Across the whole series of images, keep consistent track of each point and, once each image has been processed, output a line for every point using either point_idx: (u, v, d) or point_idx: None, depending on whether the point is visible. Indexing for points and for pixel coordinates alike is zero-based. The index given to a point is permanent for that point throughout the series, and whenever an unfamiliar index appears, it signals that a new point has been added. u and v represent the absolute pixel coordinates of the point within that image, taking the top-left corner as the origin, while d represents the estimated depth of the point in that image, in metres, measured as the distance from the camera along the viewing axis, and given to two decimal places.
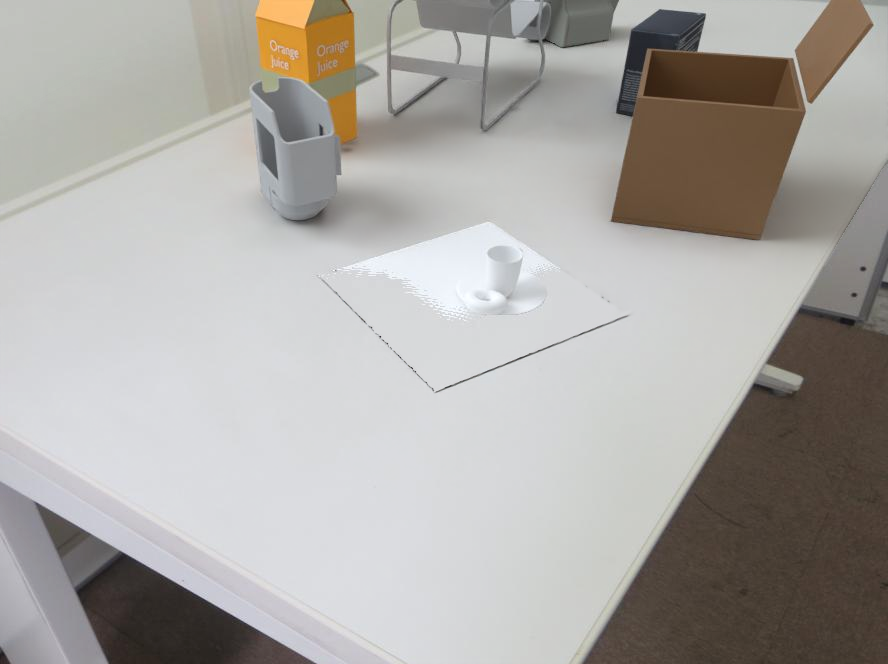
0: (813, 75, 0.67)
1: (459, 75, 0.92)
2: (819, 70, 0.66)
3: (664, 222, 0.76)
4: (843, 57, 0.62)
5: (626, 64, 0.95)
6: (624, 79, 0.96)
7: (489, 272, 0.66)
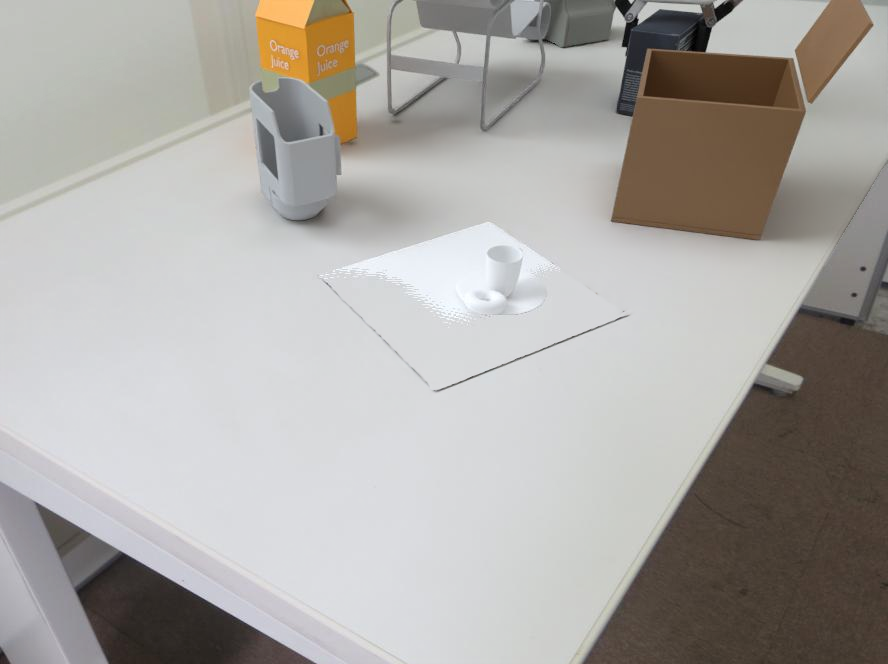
0: (813, 75, 0.67)
1: (459, 75, 0.92)
2: (819, 70, 0.66)
3: (664, 222, 0.76)
4: (843, 57, 0.62)
5: (626, 64, 0.95)
6: (624, 79, 0.96)
7: (489, 272, 0.66)
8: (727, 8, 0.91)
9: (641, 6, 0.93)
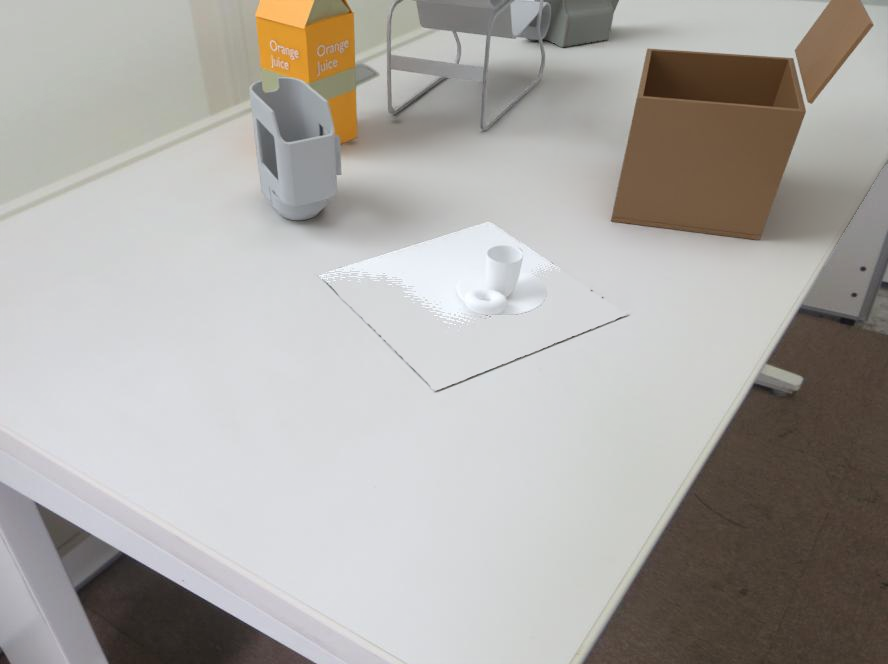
0: (813, 75, 0.67)
1: (459, 75, 0.92)
2: (819, 70, 0.66)
3: (664, 222, 0.76)
4: (843, 57, 0.62)
5: None
6: None
7: (489, 272, 0.66)
8: None
9: None
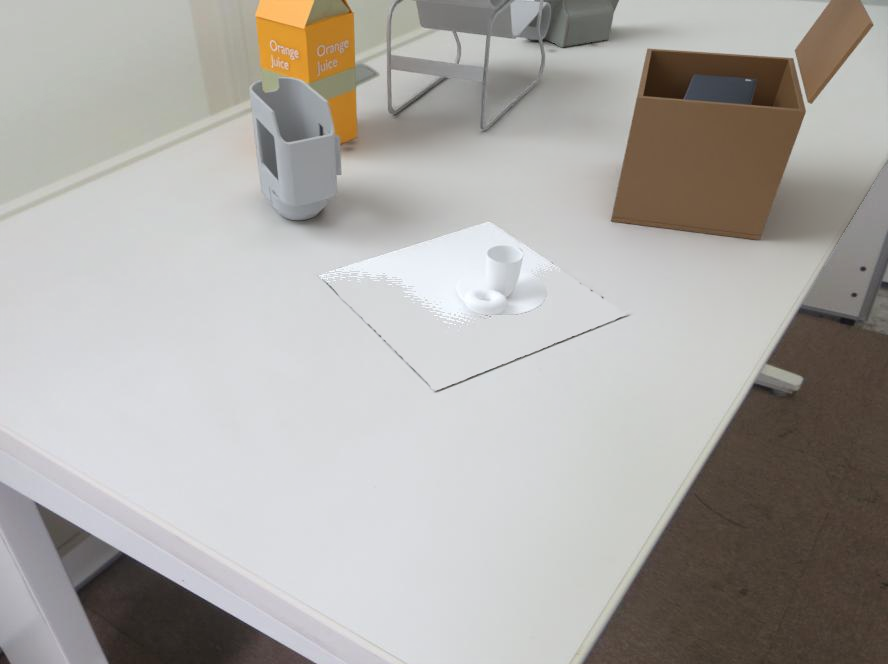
0: (813, 75, 0.67)
1: (459, 75, 0.92)
2: (819, 70, 0.66)
3: (664, 222, 0.76)
4: (843, 57, 0.62)
5: None
6: None
7: (489, 272, 0.66)
8: None
9: None
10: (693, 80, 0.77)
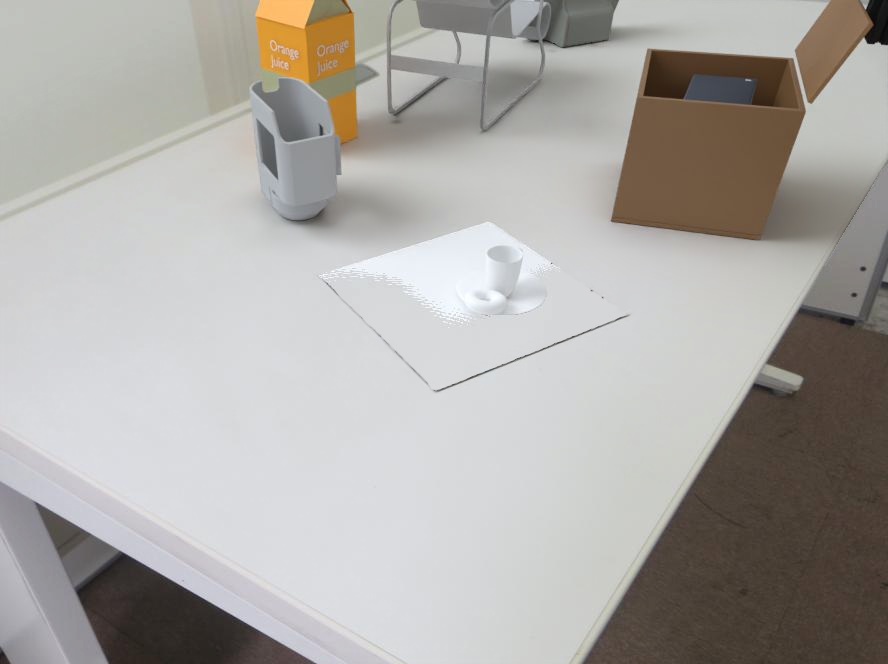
0: (813, 75, 0.67)
1: (459, 75, 0.92)
2: (819, 70, 0.66)
3: (664, 222, 0.76)
4: (843, 57, 0.62)
5: None
6: None
7: (489, 272, 0.66)
8: None
9: None
10: (693, 80, 0.77)
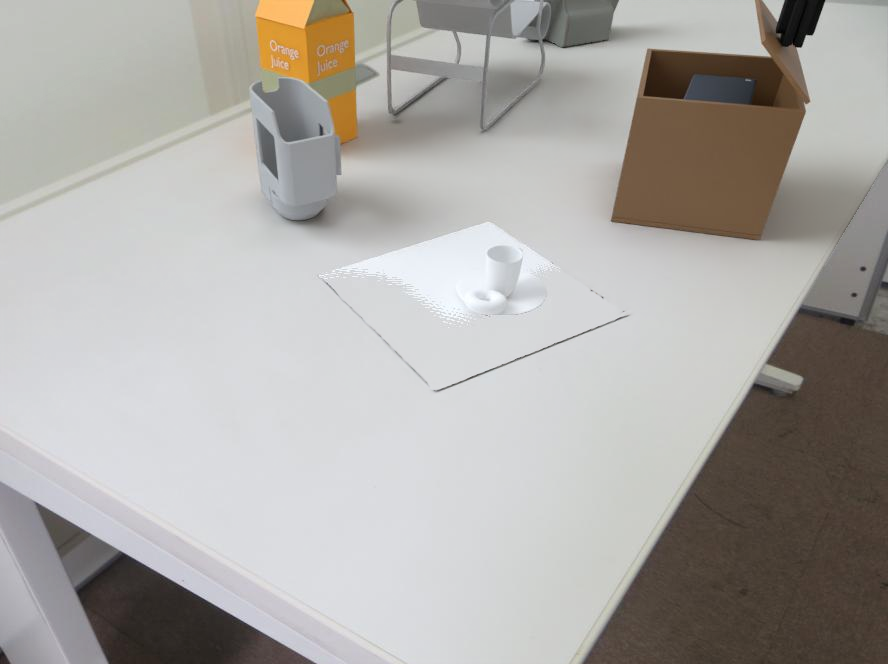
0: None
1: (459, 75, 0.92)
2: None
3: (664, 222, 0.76)
4: (780, 68, 0.64)
5: None
6: None
7: (489, 272, 0.66)
8: None
9: None
10: (693, 80, 0.77)
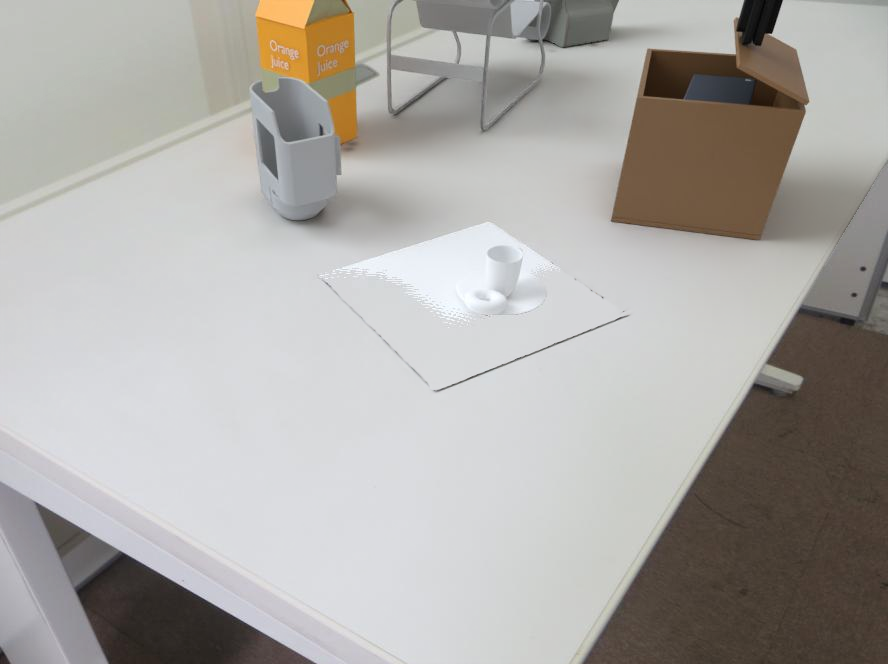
0: None
1: (459, 75, 0.92)
2: None
3: (664, 222, 0.76)
4: (766, 82, 0.65)
5: None
6: None
7: (489, 272, 0.66)
8: None
9: None
10: (693, 80, 0.77)
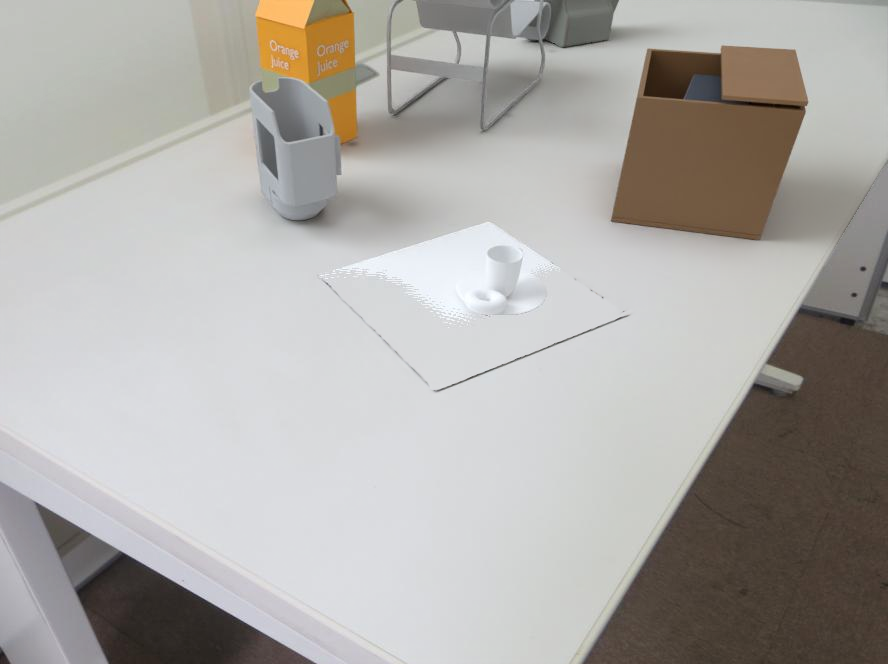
0: None
1: (459, 75, 0.92)
2: None
3: (664, 222, 0.76)
4: (756, 101, 0.66)
5: None
6: None
7: (489, 272, 0.66)
8: None
9: None
10: (693, 80, 0.77)
